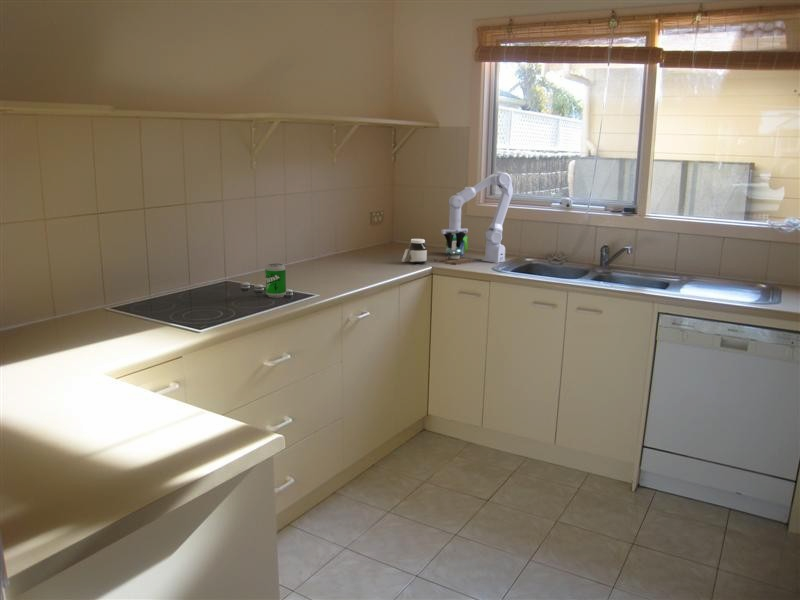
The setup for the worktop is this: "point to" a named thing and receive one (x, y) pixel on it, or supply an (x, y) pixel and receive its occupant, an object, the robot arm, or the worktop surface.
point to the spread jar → (416, 252)
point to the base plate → (462, 260)
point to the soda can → (275, 280)
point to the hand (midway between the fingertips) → (454, 247)
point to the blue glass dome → (454, 249)
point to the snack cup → (463, 244)
